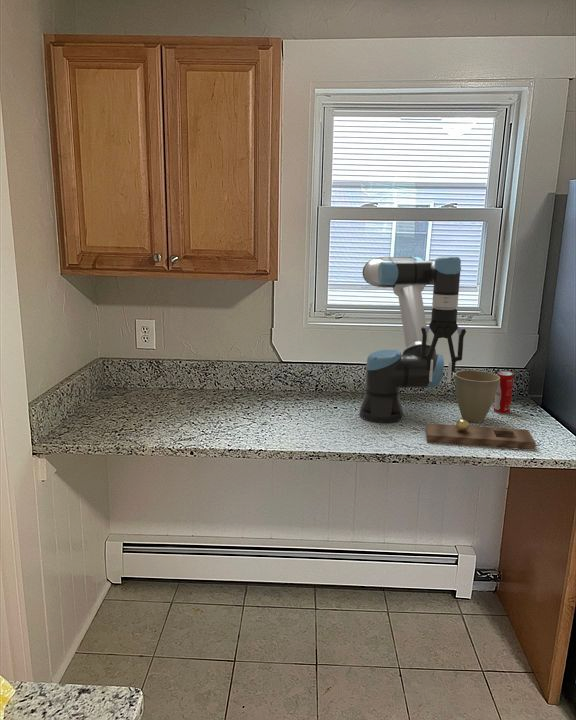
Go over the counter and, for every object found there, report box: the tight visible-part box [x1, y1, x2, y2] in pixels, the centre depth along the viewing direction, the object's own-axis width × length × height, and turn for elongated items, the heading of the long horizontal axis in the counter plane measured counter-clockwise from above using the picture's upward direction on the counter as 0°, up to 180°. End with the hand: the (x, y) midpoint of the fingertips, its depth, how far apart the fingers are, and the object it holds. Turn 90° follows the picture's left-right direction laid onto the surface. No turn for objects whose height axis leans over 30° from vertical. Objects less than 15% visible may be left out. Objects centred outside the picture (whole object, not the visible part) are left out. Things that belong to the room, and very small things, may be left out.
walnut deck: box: [425, 422, 536, 450], centre depth 184 cm, size 32×11×2 cm, turn 79°
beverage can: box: [493, 370, 515, 415], centre depth 209 cm, size 6×6×15 cm
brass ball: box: [455, 418, 470, 432], centre depth 184 cm, size 4×4×4 cm
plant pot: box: [454, 369, 500, 423], centre depth 201 cm, size 15×15×16 cm
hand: (439, 380), depth 182 cm, fingers open, 5 cm apart
